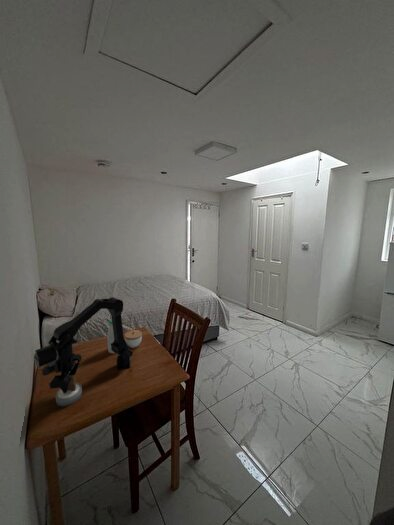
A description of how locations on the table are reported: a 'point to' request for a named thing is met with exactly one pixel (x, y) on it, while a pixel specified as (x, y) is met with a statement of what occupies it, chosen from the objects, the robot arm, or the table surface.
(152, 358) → the table surface
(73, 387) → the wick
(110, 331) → the milk bottle
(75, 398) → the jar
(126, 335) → the lidded jar
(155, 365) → the table surface
